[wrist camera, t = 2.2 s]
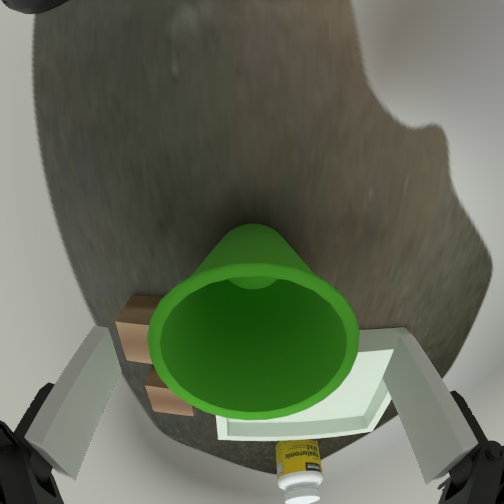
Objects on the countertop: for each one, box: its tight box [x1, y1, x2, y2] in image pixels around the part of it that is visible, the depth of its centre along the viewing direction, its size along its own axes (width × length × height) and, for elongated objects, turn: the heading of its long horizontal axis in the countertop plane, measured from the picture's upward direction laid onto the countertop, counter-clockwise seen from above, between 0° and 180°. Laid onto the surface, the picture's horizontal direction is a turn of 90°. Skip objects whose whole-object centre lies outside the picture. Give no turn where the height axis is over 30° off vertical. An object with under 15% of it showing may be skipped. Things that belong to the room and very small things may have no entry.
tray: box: [216, 327, 410, 441], centre depth 25 cm, size 14×18×3 cm
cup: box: [147, 224, 360, 420], centre depth 16 cm, size 9×9×11 cm
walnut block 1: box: [116, 295, 163, 364], centre depth 22 cm, size 4×4×4 cm
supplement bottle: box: [276, 439, 323, 504], centre depth 27 cm, size 5×5×10 cm
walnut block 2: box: [145, 365, 195, 416], centre depth 25 cm, size 4×4×4 cm
